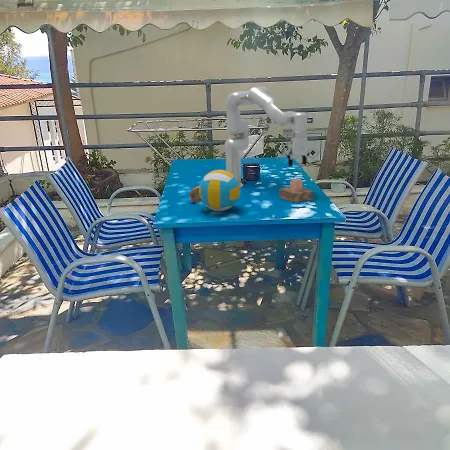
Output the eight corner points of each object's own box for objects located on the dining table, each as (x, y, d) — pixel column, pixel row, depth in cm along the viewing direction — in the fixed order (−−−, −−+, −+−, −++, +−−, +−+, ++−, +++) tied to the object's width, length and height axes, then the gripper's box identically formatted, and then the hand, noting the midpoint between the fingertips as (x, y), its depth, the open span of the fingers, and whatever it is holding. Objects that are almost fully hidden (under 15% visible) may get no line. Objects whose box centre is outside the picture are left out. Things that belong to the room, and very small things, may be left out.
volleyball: (234, 218, 211) (234, 176, 204) (193, 214, 217) (192, 173, 210) (244, 205, 231) (244, 167, 224) (206, 202, 237) (205, 165, 229)
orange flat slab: (193, 204, 235) (193, 190, 232) (189, 203, 236) (188, 189, 233) (208, 198, 247) (208, 184, 244) (204, 197, 248) (203, 183, 245)
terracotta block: (295, 191, 240) (295, 181, 238) (290, 189, 244) (290, 179, 242) (302, 190, 242) (302, 180, 240) (297, 188, 246) (297, 178, 244)
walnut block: (292, 202, 236) (293, 194, 234) (279, 196, 248) (279, 188, 246) (312, 199, 242) (313, 191, 240) (298, 193, 254) (299, 185, 252)
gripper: (290, 137, 225) (288, 167, 231) (315, 135, 233) (313, 165, 239) (282, 135, 232) (281, 165, 238) (307, 133, 239) (305, 162, 245)
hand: (297, 165), depth 238 cm, fingers open, 9 cm apart
